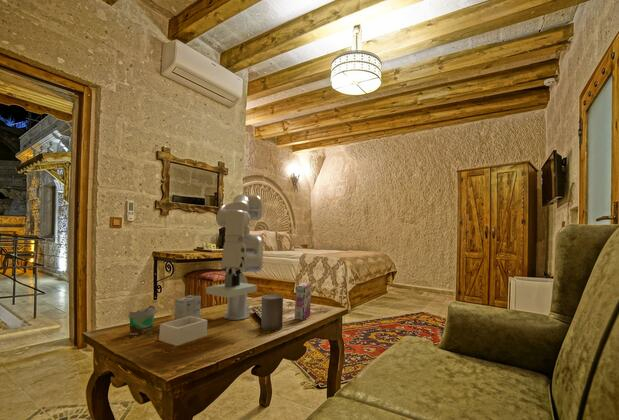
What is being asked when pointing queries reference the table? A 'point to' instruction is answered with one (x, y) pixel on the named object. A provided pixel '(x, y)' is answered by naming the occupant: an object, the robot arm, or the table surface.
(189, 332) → the tub
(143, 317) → the food container
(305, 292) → the candy bar box
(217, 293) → the lid
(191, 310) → the light bulb box
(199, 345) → the table surface
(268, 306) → the pillar candle
